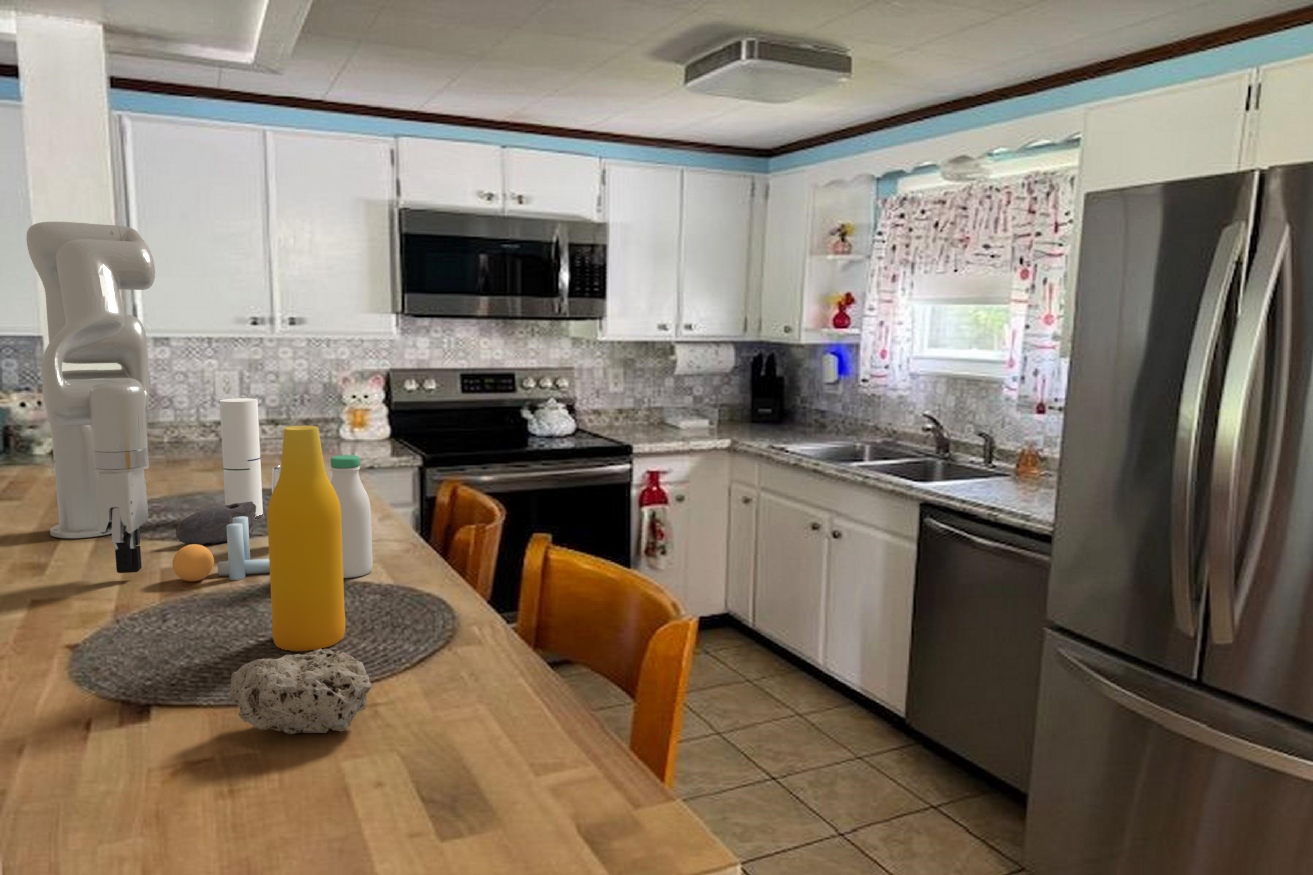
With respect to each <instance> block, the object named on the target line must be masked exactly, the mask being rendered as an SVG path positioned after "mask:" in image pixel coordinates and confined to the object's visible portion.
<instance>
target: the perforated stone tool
mask: <svg viewBox="0 0 1313 875" xmlns="http://www.w3.org/2000/svg"><path fill="white" fill-rule="evenodd" d="M255 512H256V505H255V504H253V502H244V503H235V504H231V505H225V504H224V505H220V506H215V507H214V506H213V507H211V508H207V509H204V510H201V511H199V512H198V511H197V512H196V513H192V514H191V515H188V516H187V517H185V518H184V519H182V520H181V521H179V523H178V524H177V526H176V528H175V536H176V538H177V539H178V540H179V542H181V543H182V544H185V545H191V544H198V545H205V544H206V543H207V544H210V545H214V544H220V543H227V525H228V524H233V520H232V518H234V517H240V516H245V517H248V526H249V537H250V536H252V534H253V532H254V525H255V520H256V519H255V516H256V514H255Z"/></svg>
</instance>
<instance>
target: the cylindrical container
mask: <svg viewBox="0 0 1313 875" xmlns="http://www.w3.org/2000/svg"><path fill="white" fill-rule="evenodd" d="M219 408H220V409H219V413H220V414H219V416H220V428H221V430H220V431H221V434H220V435H221V450H222V467H223V469H222V470H223V471H222V472H223V487H224V489H223V490H224V491H223V492H224V505H231V504H235V503H244V502H253V504H255V505H256V512H255V514H256V516H259V515H262V514H263V515H264V508H263V489H262V488H263V487H262V486H263V485H262V466H261V447H260V446H261V445H260V424H259V423H260V422H259V421H260V419H259V403H258V398H246V397H243V398H241V397H239V398H225V399H220V400H219ZM256 516H255V517H256Z"/></svg>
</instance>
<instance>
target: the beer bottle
mask: <svg viewBox="0 0 1313 875" xmlns="http://www.w3.org/2000/svg"><path fill="white" fill-rule="evenodd" d="M280 465H281V472H280V477H279V480H278V482H277V484H276V486H275V488H274V491H273V493H272V492H271V496H270V498H269V502H268V505H267V515H266V516H267V518H266V520H267V521H266V522H267V524H266V525H267V537H268V539H267V540H268V541H267V542H268V559H269V563H270V573H269V578H270V579H269V580H270V598H271V599H270V600H271V601H270V602H271V635H272V640H273V643H274V644H275V646H276V647H277V648H278V649H280V648H281V650H283V649H284V650H283V651H287V650H290V651H289V652H309V651H308V650H313V651H315V650H319V649H322V648H323V649H327V648H329V647H332V646H333V645H336V644H338V643H339V642H341V640H343V638H344V637H345V632H346V625H347V624H346V613H345V612H346V611H345V591H344V590H345V587H344V586H345V585H344V578H343V553H342V523H341V507H340V502H339V499H338V496H337V494H336V492H335V490H334V488H333V486H332V484H331V480H330V479H329V477H328V474H327V472H326V467H325V463H324V456H323V449H322V443H321V435H320V430H319V427H318V426H315V425H293V426H287V427H284V428H283V438H282V451H281V464H280ZM323 649H322V650H323Z"/></svg>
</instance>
